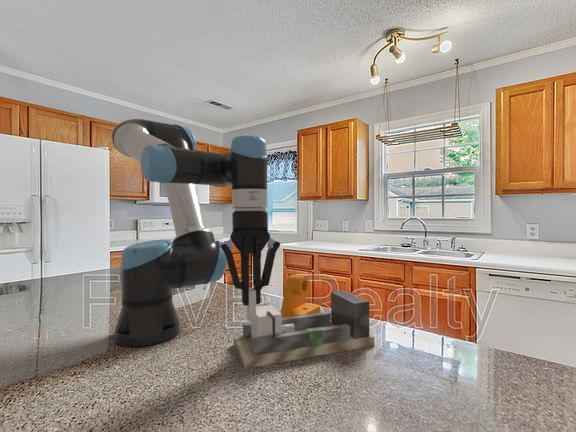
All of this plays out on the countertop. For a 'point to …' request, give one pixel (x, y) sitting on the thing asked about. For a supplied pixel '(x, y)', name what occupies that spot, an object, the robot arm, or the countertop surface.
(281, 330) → the gauge carriage
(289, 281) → the bracket
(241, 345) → the base
